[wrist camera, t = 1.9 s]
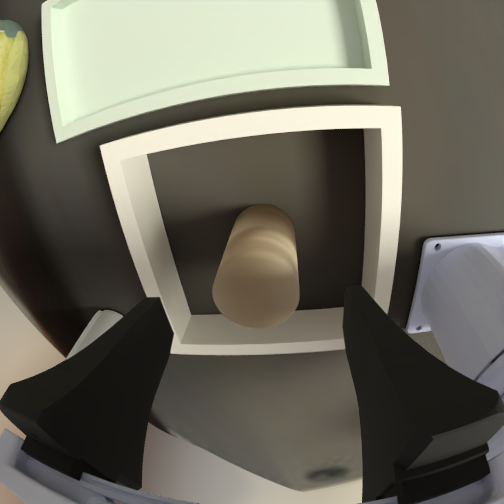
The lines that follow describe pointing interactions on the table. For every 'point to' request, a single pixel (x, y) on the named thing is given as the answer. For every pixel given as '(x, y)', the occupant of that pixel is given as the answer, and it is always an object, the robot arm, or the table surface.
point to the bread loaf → (259, 269)
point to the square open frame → (240, 125)
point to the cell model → (11, 66)
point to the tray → (198, 53)
